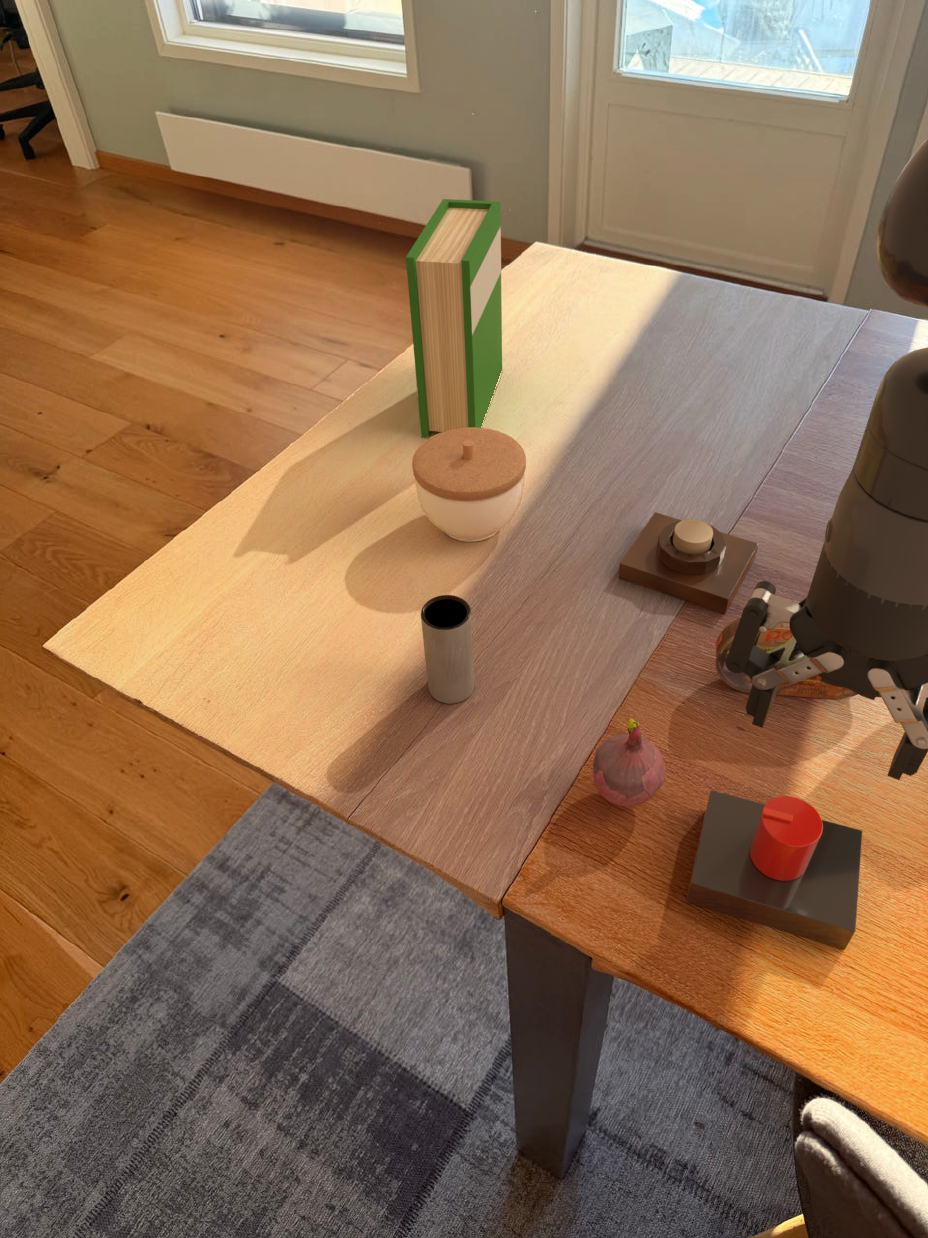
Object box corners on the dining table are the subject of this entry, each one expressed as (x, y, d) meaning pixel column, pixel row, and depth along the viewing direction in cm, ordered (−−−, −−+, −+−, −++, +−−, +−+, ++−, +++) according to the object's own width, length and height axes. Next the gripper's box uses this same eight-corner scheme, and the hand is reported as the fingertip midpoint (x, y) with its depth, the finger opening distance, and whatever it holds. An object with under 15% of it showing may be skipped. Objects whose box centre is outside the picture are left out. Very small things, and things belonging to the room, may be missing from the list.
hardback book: (475, 442, 118) (469, 260, 101) (421, 436, 120) (405, 257, 103) (502, 373, 130) (500, 201, 113) (452, 369, 132) (443, 198, 115)
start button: (716, 538, 97) (718, 525, 96) (703, 560, 95) (705, 547, 94) (680, 527, 99) (682, 514, 98) (666, 548, 96) (668, 535, 95)
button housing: (755, 558, 100) (762, 530, 97) (725, 614, 94) (731, 586, 91) (652, 526, 105) (656, 499, 102) (618, 578, 99) (621, 550, 96)
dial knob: (810, 840, 72) (826, 802, 68) (804, 888, 69) (821, 851, 65) (753, 825, 73) (766, 786, 69) (745, 871, 70) (758, 834, 66)
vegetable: (655, 766, 81) (669, 694, 74) (664, 826, 77) (679, 755, 69) (587, 766, 81) (594, 693, 74) (591, 825, 77) (599, 754, 70)
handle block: (852, 850, 74) (862, 830, 72) (845, 950, 68) (855, 931, 66) (705, 809, 78) (710, 789, 75) (685, 902, 72) (690, 883, 70)
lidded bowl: (545, 510, 108) (547, 431, 100) (488, 571, 100) (485, 490, 92) (457, 478, 113) (452, 400, 105) (396, 534, 105) (387, 455, 98)
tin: (709, 691, 87) (723, 629, 81) (707, 666, 89) (721, 605, 83) (873, 703, 85) (900, 641, 79) (867, 678, 87) (893, 616, 81)
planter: (418, 687, 89) (410, 612, 81) (451, 662, 91) (446, 587, 84) (451, 712, 86) (445, 637, 79) (484, 685, 88) (481, 610, 81)
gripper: (1063, 550, 46) (955, 743, 58) (786, 475, 52) (737, 665, 63) (1044, 644, 42) (931, 833, 53) (743, 550, 47) (699, 740, 59)
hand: (826, 742), depth 58 cm, fingers open, 8 cm apart
